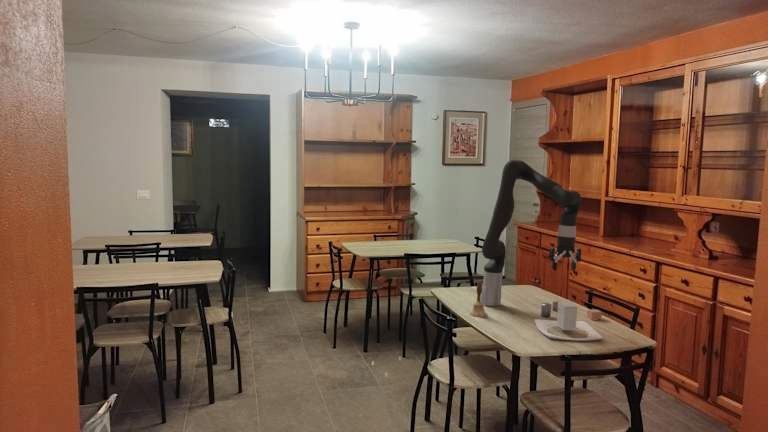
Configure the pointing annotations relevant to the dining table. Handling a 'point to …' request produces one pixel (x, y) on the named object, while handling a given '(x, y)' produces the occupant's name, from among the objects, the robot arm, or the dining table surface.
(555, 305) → the walnut block
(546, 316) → the slate grey cylinder
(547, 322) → the plate
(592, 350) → the dining table surface
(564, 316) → the small box
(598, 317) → the terracotta block
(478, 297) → the hand bell
